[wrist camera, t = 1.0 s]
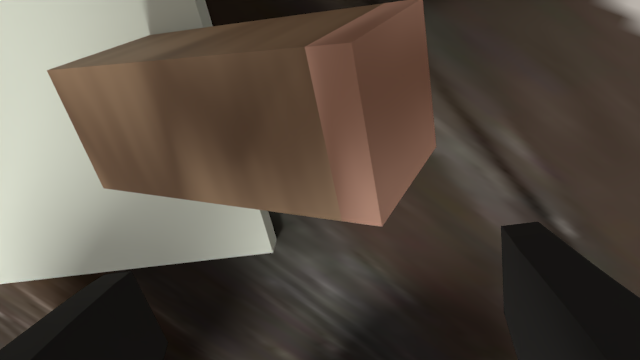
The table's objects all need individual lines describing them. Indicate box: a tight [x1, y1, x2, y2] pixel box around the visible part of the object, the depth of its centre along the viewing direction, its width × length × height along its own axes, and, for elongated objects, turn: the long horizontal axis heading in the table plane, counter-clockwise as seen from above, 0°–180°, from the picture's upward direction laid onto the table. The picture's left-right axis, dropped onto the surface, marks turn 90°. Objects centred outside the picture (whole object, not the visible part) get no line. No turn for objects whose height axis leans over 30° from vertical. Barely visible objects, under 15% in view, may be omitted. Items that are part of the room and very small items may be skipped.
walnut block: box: [47, 0, 436, 227], centre depth 13 cm, size 4×4×10 cm
